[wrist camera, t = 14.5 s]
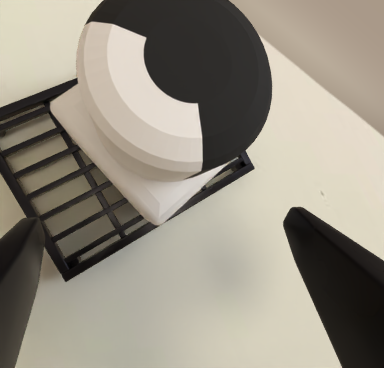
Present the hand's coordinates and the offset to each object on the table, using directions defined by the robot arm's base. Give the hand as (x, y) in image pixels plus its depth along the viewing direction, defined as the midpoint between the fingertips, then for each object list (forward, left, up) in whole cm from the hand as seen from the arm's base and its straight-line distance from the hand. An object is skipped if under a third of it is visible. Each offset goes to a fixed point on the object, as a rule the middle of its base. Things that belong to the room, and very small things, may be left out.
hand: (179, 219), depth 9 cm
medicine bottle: (+2, +4, -10) cm, 11 cm away
